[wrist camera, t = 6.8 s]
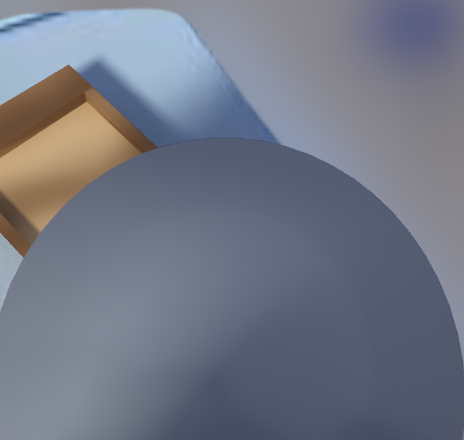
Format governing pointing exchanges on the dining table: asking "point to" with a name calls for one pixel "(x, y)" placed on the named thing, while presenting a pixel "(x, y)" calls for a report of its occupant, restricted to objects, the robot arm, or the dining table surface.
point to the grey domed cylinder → (228, 309)
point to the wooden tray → (56, 150)
